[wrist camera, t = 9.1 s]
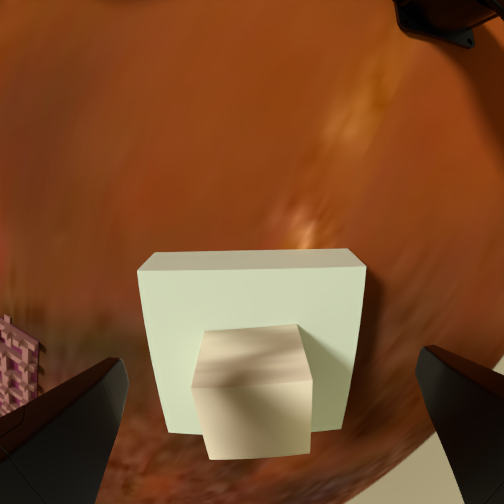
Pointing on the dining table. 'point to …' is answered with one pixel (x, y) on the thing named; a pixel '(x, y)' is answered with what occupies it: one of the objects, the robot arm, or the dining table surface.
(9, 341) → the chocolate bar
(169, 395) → the sage block
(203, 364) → the birch cube
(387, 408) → the dining table surface
